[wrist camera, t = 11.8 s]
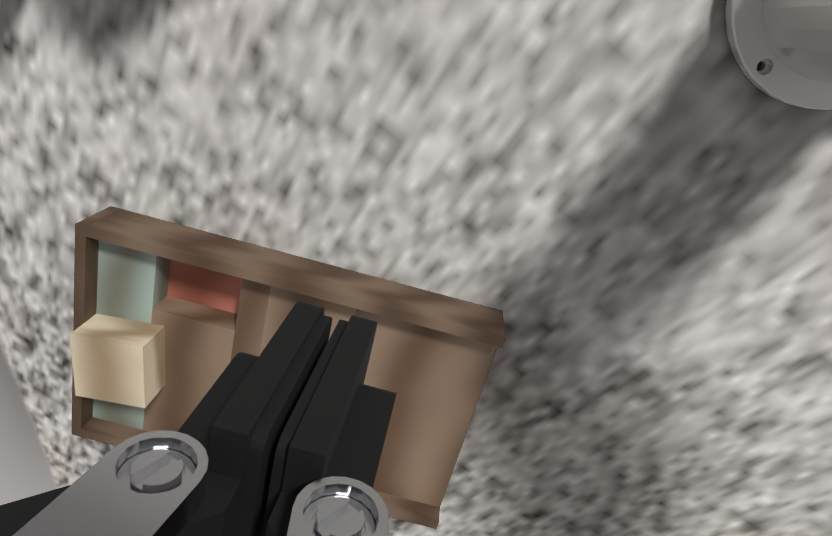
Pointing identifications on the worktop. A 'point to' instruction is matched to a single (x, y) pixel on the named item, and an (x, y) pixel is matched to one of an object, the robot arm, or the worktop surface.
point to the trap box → (257, 323)
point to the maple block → (118, 360)
